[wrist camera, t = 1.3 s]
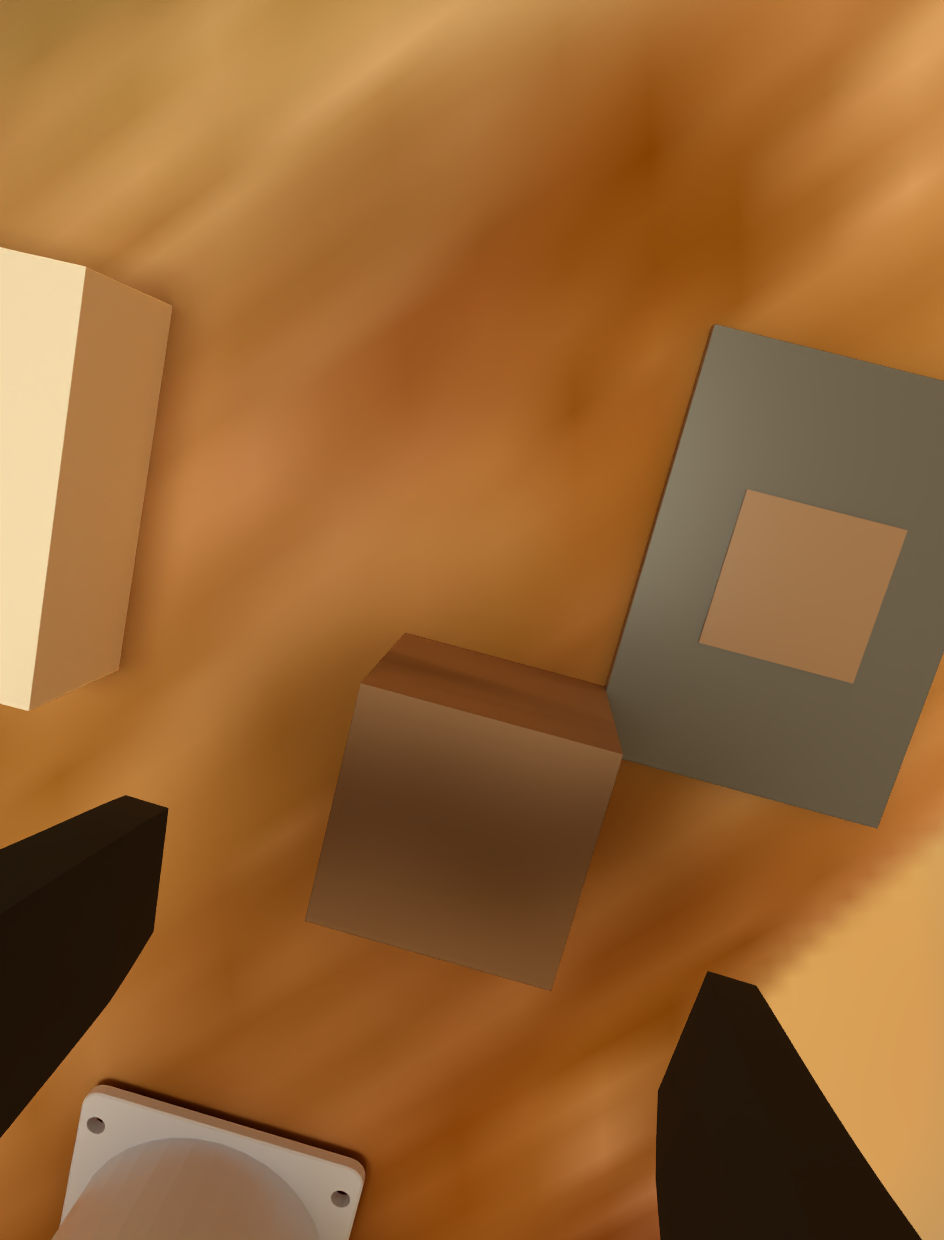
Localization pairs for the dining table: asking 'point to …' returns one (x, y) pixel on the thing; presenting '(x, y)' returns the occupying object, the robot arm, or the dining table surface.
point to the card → (790, 580)
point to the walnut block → (467, 809)
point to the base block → (71, 468)
